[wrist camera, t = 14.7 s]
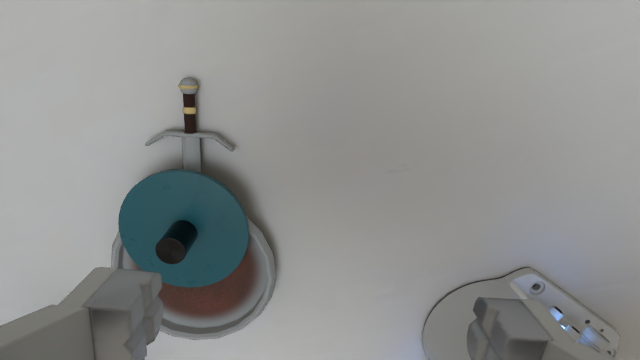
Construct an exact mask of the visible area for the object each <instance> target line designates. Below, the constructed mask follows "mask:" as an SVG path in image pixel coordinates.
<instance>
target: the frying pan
mask: <svg viewBox="0 0 640 360" xmlns="http://www.w3.org/2000/svg"><path fill="white" fill-rule="evenodd" d="M178 87H179V88H180V90H181V92H182V93H183V102H184V107H183V113H184V122H185V131H177V130H166V131H165V132H163V133H161V134H160V135H158V136H156V137H154V138H153V139H151V140H149V141H148V142H146V143H145V145H146V146H149V145H150V144H152V143H154V142H156V141H157V140H159V139H161V138H163V137H164V136H177V137H182V152H183V170H191V171H196V172H200V173H201V159H200V138H210V139H215V140H216V141H218V142H219V143H220V144H222V145H223V146H224V147H226V148H227V149H228V150H230V151H231V152H233V151H234V149H235V148H234V147H233V146H232V145H231V144H229V143H228V142H227V141H226V140H224V139H223V138H222V137H220V136H219V135H218V134H216V133H210V132H196V122H195V113H196V108H195V97H194V93H195V92H196V91H197V88H198V85H197V84H196V82H195V81H194V80H193V79H191V78H184V79H183V80H182V81H181V82H180V84H179V85H178ZM247 220H248V224H249V242H248V247H247V250H246V252H245V255H244V257H243V259H242V261H241V263H240V264H239V265H238V267H237V268H236V269H235V270H234V271H233V272H232V273H231V274H230V275H228V276H227V277H225V278H224V279H222V280H220V281H218V282H216V283H213V284H210V285H207V286H202V287H179V286H174V285H170V284H167V283H164V282H162V289H161V290H160V292H159V293H158V295H157V296H158V297H159V298H160V299H161V301H162V302H163V318H162V323H161V326H160V331H162V332H164V333H166V334H168V335H171V336H175V337H181V338H187V339H192V340H201V339H214V338H220V337H223V336H225V335H228V334H231V333H234V332H236V331H239V330H241V329H242V328H243V327H245V326H246V325H247V324H249V323H250V322H251V321H253V320H254V319H255V318H256V317H258V316H259V315H260V314H261V312H262V311H263V309H264V308H265V306H266V305H267V303H268V302H269V300H270V299H271V297H272V293H273V288H274V284H275V279H276V271H275V264H274V258H273V253H272V251H271V249H270V247H269V245H268V243H267V241H266V239H265V238H264V236H263V234H262V232H261V231H260V230H259V229H258V227H257V226H256V225H254V224H253V223H252V222H251V221H250V220H249V219H248V218H247ZM111 268H118V269H129V270H139V271H143V270H142V269H141V268H140V267H139V266H137V265H136V263H135V262H134V261H133V260H132V259H131V257H130V256H129V254H128V253H127V251H126V249H125V247H124V245H123V243H122V240H121V237H120V232H118V234H117V236H116V238H115V240H114V242H113V245H112V260H111Z"/></svg>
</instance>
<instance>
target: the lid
mask: <svg viewBox="0 0 640 360" xmlns="http://www.w3.org/2000/svg"><path fill="white" fill-rule="evenodd" d="M119 232H120V237H121V240H122V243H123V245H124V247H125V249H126V251H127V253H128V254H129V256H130V257H131V259H132V260H133V261H134V262H135V263H136V265H137V266H139V267H140V268H141V269H142V270H143V271H150V272H159V274H160V275H161V278H162V282H164V283H167V284H170V285H174V286H179V287H202V286H207V285H210V284H213V283H216V282H218V281H220V280H222V279H224V278H225V277H227V276H228V275H230V274H231V273H232V272H233V271H234V270H235V269H236V268H237V267H238V265H239V264H240V263H241V261H242V259H243V257H244V255H245V252H246V250H247V247H248V242H249V224H248V220H247V216H246V214H245V211H244V209H243V207H242V205H241V203H240V202H239V200H238V199H237V198H236V196H235V195H234V194H233V193H232V192H231V191H230V190H229V189H228V188H227V187H226V186H224V185H223V184H222V183H220V182H219V181H217V180H216V179H214V178H212V177H210V176H208V175H205V174H202V173H200V172H196V171H191V170H183V169H172V170H165V171H161V172H158V173H155V174H152V175H150V176H148V177H146V178H145V179H143V180H142V181H140V182H139V183H138V184H137V185H136V186H134V187H133V188H132V189H131V191H130V192H129V193H128V194H127V196H126V198H125V199H124V201H123V204H122V206H121V209H120V213H119Z"/></svg>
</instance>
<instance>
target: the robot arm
mask: <svg viewBox="0 0 640 360" xmlns="http://www.w3.org/2000/svg"><path fill="white" fill-rule="evenodd" d="M534 284H536V285H535V286H533V285H534ZM532 286H533V287H532ZM161 289H162V278H161V275H160V274H159V272H150V271H139V270H129V269H118V268H106V267H99V268H95V269H94V270H93V271H92V272H91V273H90V274H89V275H88V276H87V277H86V278H85V279H84V280H83V281H82V282H81V283H80V284H79V285H78V286H77V287H76V288H75V289H74V290H73V291H72V292H71V293H70V294H69V295H68V296H67V297H66V298H65V299H64V300H63V301H62V302H61V303H60V304H59V305H50V306H48V307H45V308H43V309H40V310H38V311H35V312H33V313H31V314H28V315H26V316H23V317H21V318H18V319H16V320H14V321H11V322H9V323H6V324H4V325H2V326H0V360H144V358H145V357H146V355H147V349H146V345H148V344H150V343H151V342H153V341H154V340H155V338H156V336H157V335H158V333H159V330H160V326H161V323H162V318H163V302H162V301H161V299H160V298H159V297H158V296H157V295H158V293H159V292H160V290H161ZM619 342H620V336H619V334H618V333H617V331H616V330H615V329H614V328H613V327H612V326H610V325H609V324H608V323H606V322H605V321H604V320H602V319H601V318H599V317H598V316H597V315H595V314H594V313H593V312H591V311H590V310H588V309H587V308H586V307H584V306H583V305H582V304H580V303H579V302H578V301H576V300H575V299H573V298H572V297H571V296H569V295H568V294H567V293H565V292H564V291H562V290H561V289H560V288H558V287H557V286H556V285H554V284H553V283H551V282H550V281H549V280H547V279H546V278H545V277H543V276H542V275H540V274H539V273H538V272H536V271H535V270H533V269H531V268H523V269H520V270H518V271H515V272H513V273H511V274H509V275H507V276H505V277H503V278H500V279H495V280H488V281H481V282H476V283H472V284H469V285H467V286H464V287H462V288H460V289H458V290H456V291H454V292H452V293H451V294H449V295H448V296H446V297H445V298H444V299H443V300H442V301H440V302H439V303H438V304H437V306H436V307H435V308H434V309H433V311H432V312H431V313H430V315H429V317H428V319H427V321H426V323H425V326H424V330H423V347H424V351H425V354H426V356H427V358H428V359H429V360H614V358H615V355H616V353H617V350H618V347H619Z"/></svg>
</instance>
